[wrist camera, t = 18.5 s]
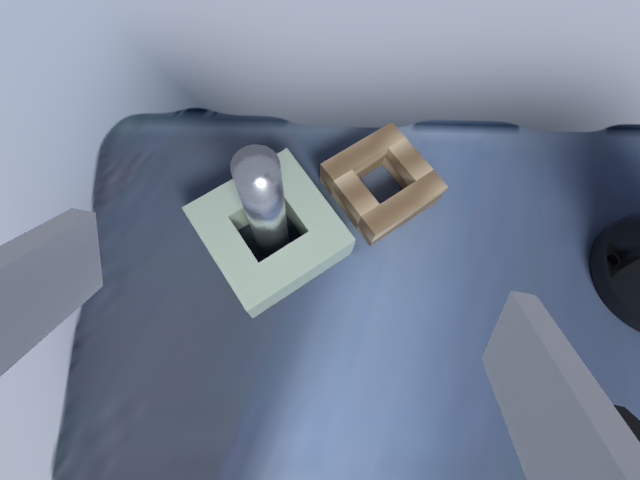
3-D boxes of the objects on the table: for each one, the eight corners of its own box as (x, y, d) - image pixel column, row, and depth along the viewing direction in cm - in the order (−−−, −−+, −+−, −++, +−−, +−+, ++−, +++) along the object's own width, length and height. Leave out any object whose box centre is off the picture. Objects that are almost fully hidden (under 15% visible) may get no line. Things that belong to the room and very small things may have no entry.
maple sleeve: (437, 200, 51) (448, 186, 47) (369, 245, 49) (375, 234, 45) (385, 139, 54) (391, 121, 50) (319, 179, 52) (320, 163, 48)
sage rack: (351, 253, 48) (356, 240, 44) (252, 318, 45) (246, 311, 41) (288, 168, 52) (286, 148, 47) (193, 224, 49) (181, 207, 44)
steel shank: (295, 243, 49) (289, 172, 32) (267, 260, 48) (246, 197, 31) (277, 217, 50) (263, 136, 33) (249, 234, 49) (220, 159, 32)
